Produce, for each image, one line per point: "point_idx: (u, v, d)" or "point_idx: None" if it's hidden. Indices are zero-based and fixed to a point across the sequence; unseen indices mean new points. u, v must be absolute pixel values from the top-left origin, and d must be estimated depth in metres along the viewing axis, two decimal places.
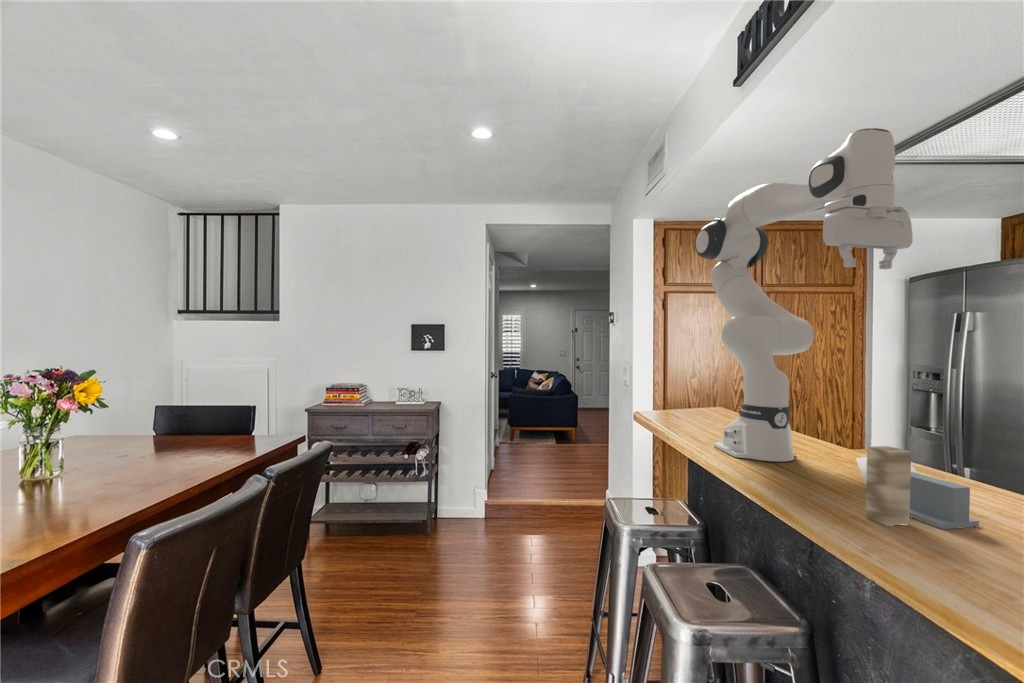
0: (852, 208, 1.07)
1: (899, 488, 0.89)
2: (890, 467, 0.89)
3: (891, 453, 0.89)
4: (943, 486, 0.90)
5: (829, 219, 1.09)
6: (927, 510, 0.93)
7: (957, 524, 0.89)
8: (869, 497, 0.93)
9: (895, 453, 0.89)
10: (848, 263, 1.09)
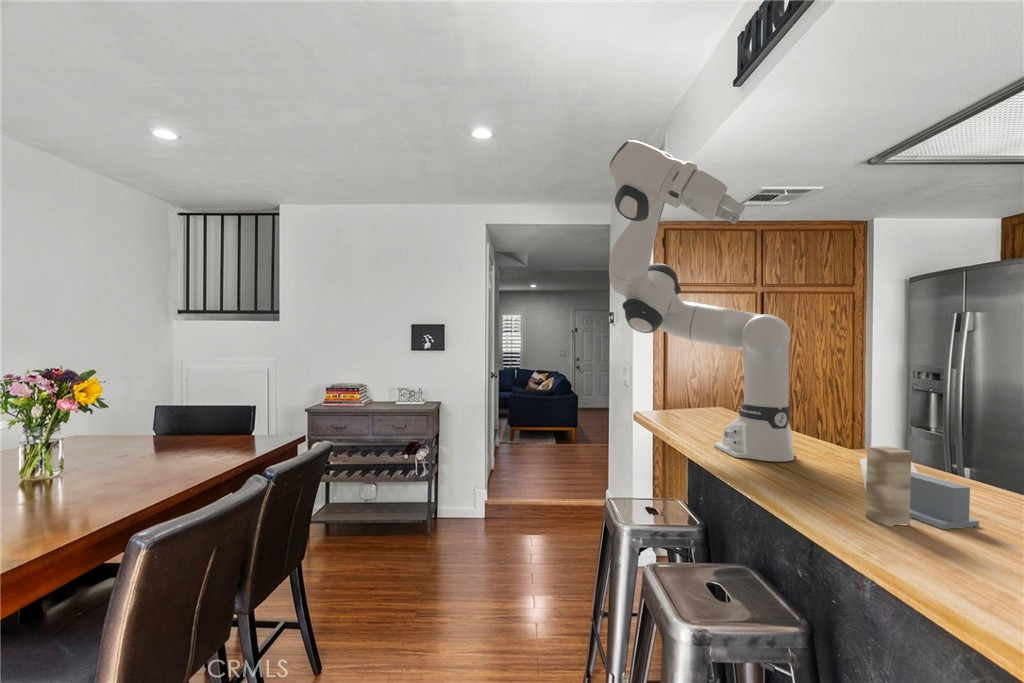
0: None
1: (899, 488, 0.89)
2: (890, 467, 0.89)
3: (891, 453, 0.89)
4: (943, 486, 0.90)
5: (695, 185, 1.00)
6: (927, 510, 0.93)
7: (957, 524, 0.89)
8: (869, 497, 0.93)
9: (895, 453, 0.89)
10: (741, 206, 1.01)
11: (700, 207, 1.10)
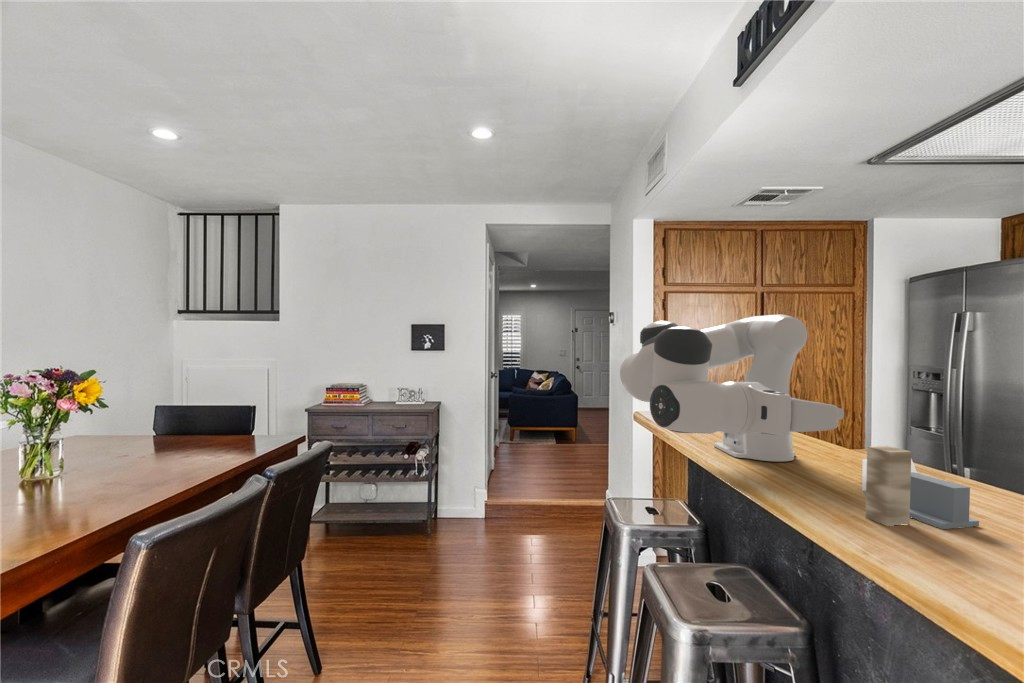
0: None
1: (899, 488, 0.89)
2: (890, 467, 0.89)
3: (891, 453, 0.89)
4: (943, 486, 0.90)
5: (808, 420, 0.78)
6: (927, 510, 0.93)
7: (957, 524, 0.89)
8: (869, 497, 0.93)
9: (895, 453, 0.89)
10: (840, 411, 0.84)
11: None
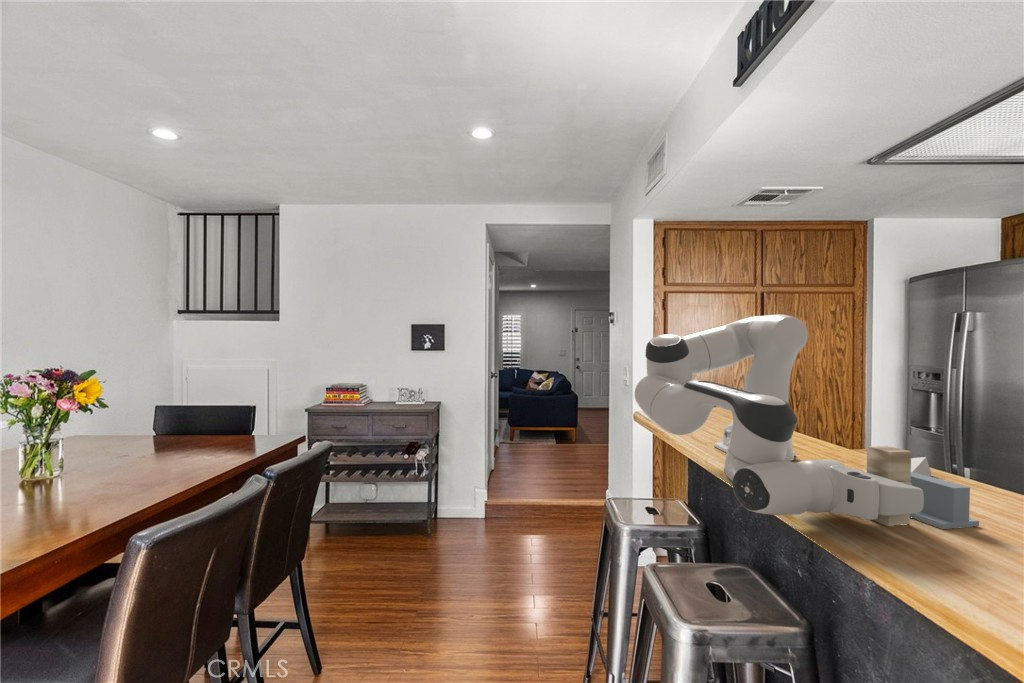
0: None
1: None
2: (890, 467, 0.89)
3: (891, 453, 0.89)
4: (943, 486, 0.90)
5: (896, 505, 0.80)
6: (927, 510, 0.93)
7: (957, 524, 0.89)
8: None
9: (895, 453, 0.89)
10: (908, 485, 0.88)
11: None
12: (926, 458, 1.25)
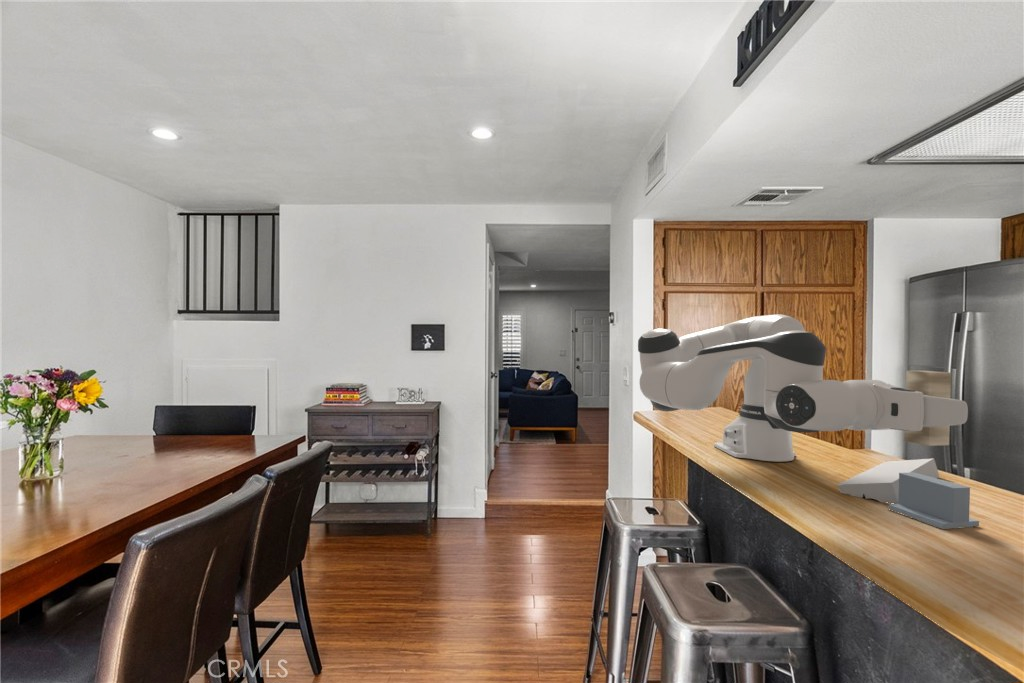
0: None
1: None
2: (930, 387, 0.90)
3: (932, 373, 0.90)
4: (943, 486, 0.90)
5: (940, 416, 0.82)
6: (927, 510, 0.93)
7: (957, 524, 0.89)
8: None
9: (936, 373, 0.91)
10: None
11: None
12: None
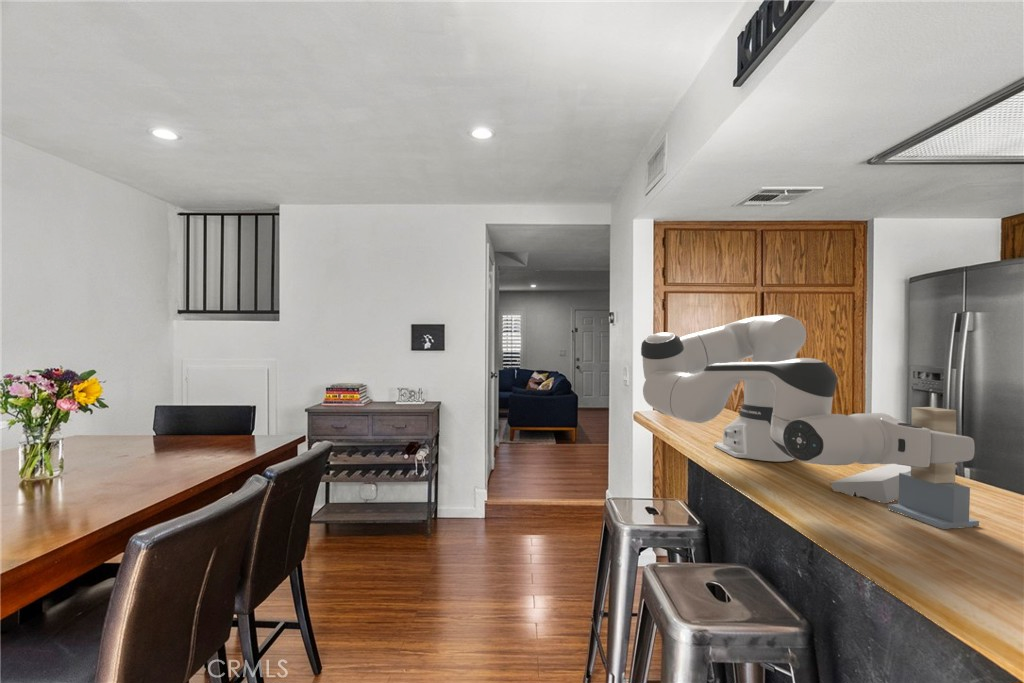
0: None
1: None
2: (936, 425, 0.91)
3: (937, 411, 0.91)
4: (943, 486, 0.90)
5: (947, 453, 0.82)
6: (927, 510, 0.93)
7: (957, 524, 0.89)
8: None
9: (941, 412, 0.91)
10: None
11: None
12: None
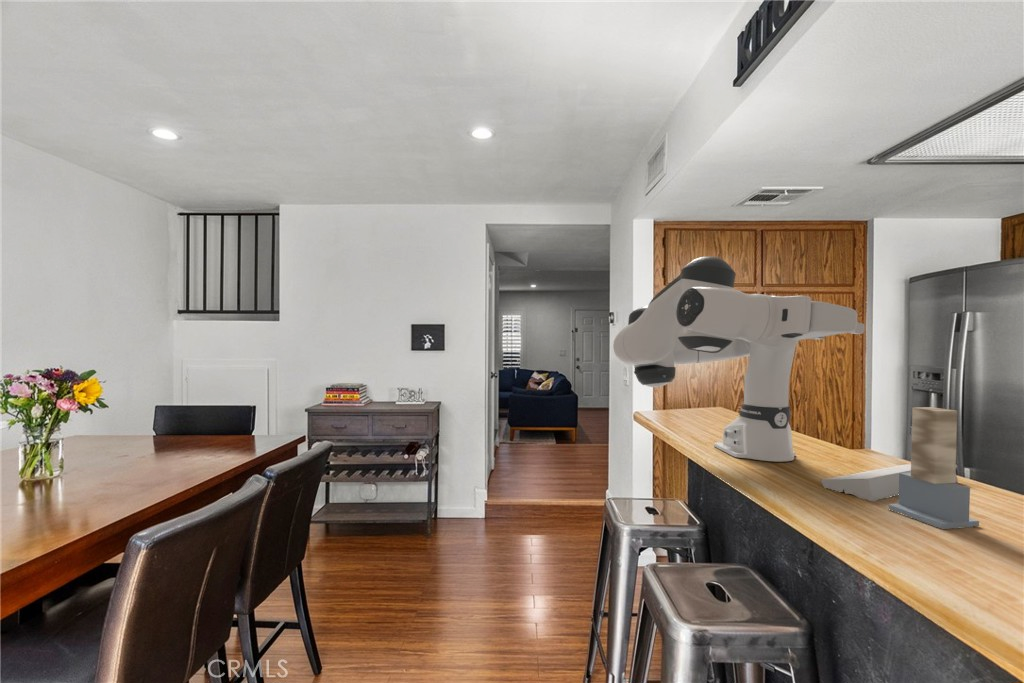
0: None
1: (945, 446, 0.92)
2: (937, 425, 0.91)
3: (938, 412, 0.91)
4: (943, 486, 0.90)
5: (826, 320, 0.83)
6: (927, 510, 0.93)
7: (957, 524, 0.89)
8: (915, 456, 0.95)
9: (942, 412, 0.91)
10: (861, 325, 0.88)
11: None
12: None
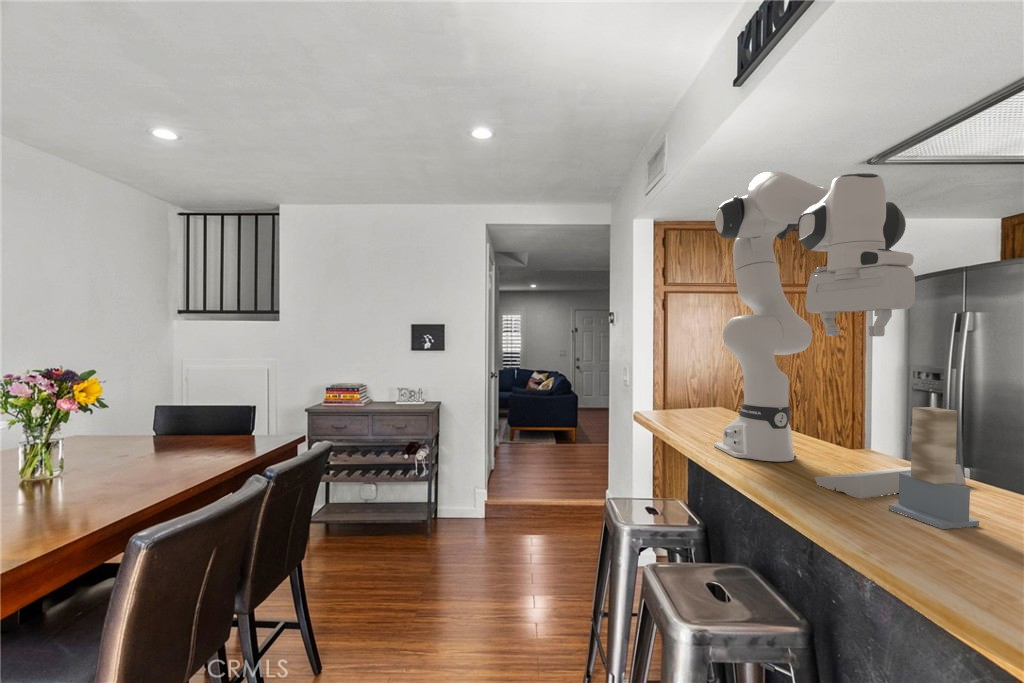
0: None
1: (945, 446, 0.92)
2: (937, 425, 0.91)
3: (938, 412, 0.91)
4: (943, 486, 0.90)
5: (901, 275, 0.85)
6: (927, 510, 0.93)
7: (957, 524, 0.89)
8: (915, 456, 0.95)
9: (942, 412, 0.91)
10: (882, 332, 0.89)
11: (838, 293, 0.96)
12: (960, 466, 1.17)
